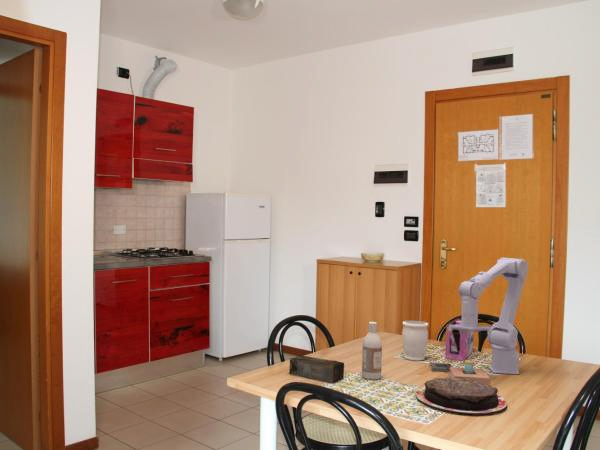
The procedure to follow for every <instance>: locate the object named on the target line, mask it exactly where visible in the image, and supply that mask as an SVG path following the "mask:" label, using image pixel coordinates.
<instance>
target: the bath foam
mask: <svg viewBox="0 0 600 450" xmlns="http://www.w3.org/2000/svg"><path fill="white" fill-rule="evenodd" d="M377 329H378V323H377V321H369V322H368V333H367V334H366V335H365V336H364V339H363V341H362V350H361V351H362V362H361V377H362V378H363V379H365V378H366V380H369V379H371V381H376V379H377V380H380V379H381V378H382V363H383V362H382V357H383V355H382V354H383V344H382V340H381V338H380V336H379V334H378V332H377V331H378V330H377Z"/></svg>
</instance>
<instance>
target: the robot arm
mask: <svg viewBox="0 0 600 450" xmlns="http://www.w3.org/2000/svg"><path fill="white" fill-rule="evenodd" d="M528 272H529V265H528V262H527V261H526V260H525V258H514V257H513V258H511V257H505V256H503V257H500V258H499V259H497V260H496V264H494V265H493V266H492V267H491V268H489V269H488V270H487V271H479V272H478V273H477V274H476V275H474V276H473V277H471V278H470V279H469V280H464V281H462V282H461V283H460V285H459V288H458V289H457V290H458V294H459V295H460V301H461V319H462V320H461V325H449V324H448V325H449V331H452V334H453V336H454V339H455V342H456V347H457V351H460V332H459V331H473V332H477V334H478V335H477V337H478V345H477V351H478V352H479V353H482V349H483V346H484V343H485V341H486V340H487V342H488V343H489V344H490V347H491V365H488V369H490V371H491V372H492V373H494V374H506V375H507V374H508V375H509V374H510V375H519V374H520V371H519V365H520V360H519V359H520V355H519V350H518V349H517V348H516V346H517V345H518V334H519V331H518V330H517V328H516V327H515V326H514V324H515V323H514V322H515V320H516V316H517V312H518V309H519V305H520V304H519V303H520V300H521V296H522V292H523V288H524V285H525V282H526V279H527V277H528V276H527V275H528ZM501 275H502V276H503V278H504V280H506V281H507V283H508V284H507V285H508V286H507V290H506V292H505V296H504V300H503V303H502V306H501V307H502V308H501V311H500V313H499V315H500V316H499V318H498V321H497V322H495V323H493V324H492V325H491V326H489V325H479V321H478V319H479V318H478V317H479V298H481V296H482V293H483V292H484V290H486V289H487V288H488V287H490V286H491V285H492V284H493V280H495V279H497V278H498V277H499V276H501ZM465 329H467V330H465Z"/></svg>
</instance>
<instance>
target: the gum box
mask: <svg viewBox="0 0 600 450" xmlns="http://www.w3.org/2000/svg"><path fill="white" fill-rule="evenodd" d="M461 320H462V318H456V319H455V320H454V321H452V322H451V323H449V324H448V325H447V326H446V333H445V349H444V350H445V352H444V358H445V359H447V360H453V361H460V362H465V360H467V358H468V357H469V355H471V354H472V353H473V352H474V336H475V335H474V334H475V333H474V332H473V331H459V332H460V351H457V347H456V342H455V339H454V336H453V334H452V331H449V325H461ZM465 330H467V329H465Z"/></svg>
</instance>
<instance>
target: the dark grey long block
mask: <svg viewBox="0 0 600 450" xmlns="http://www.w3.org/2000/svg"><path fill="white" fill-rule="evenodd" d="M288 371H289V375H291V376H292V375H293V376H297V377H300V378H305V379H310V380H316V381H320V382H326V383H331V384H335V383H337V382H339V380H340V381H341V379H342V380H344V379H345V378H344V376H345V362H343V361H342V362H341V361H337V360H330V359H326V358H325V359H324V358H320V357H319V358H317V357H313V356H307V355H303V354H300V355H297V356H293V357H291V358H289V369H288Z"/></svg>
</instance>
